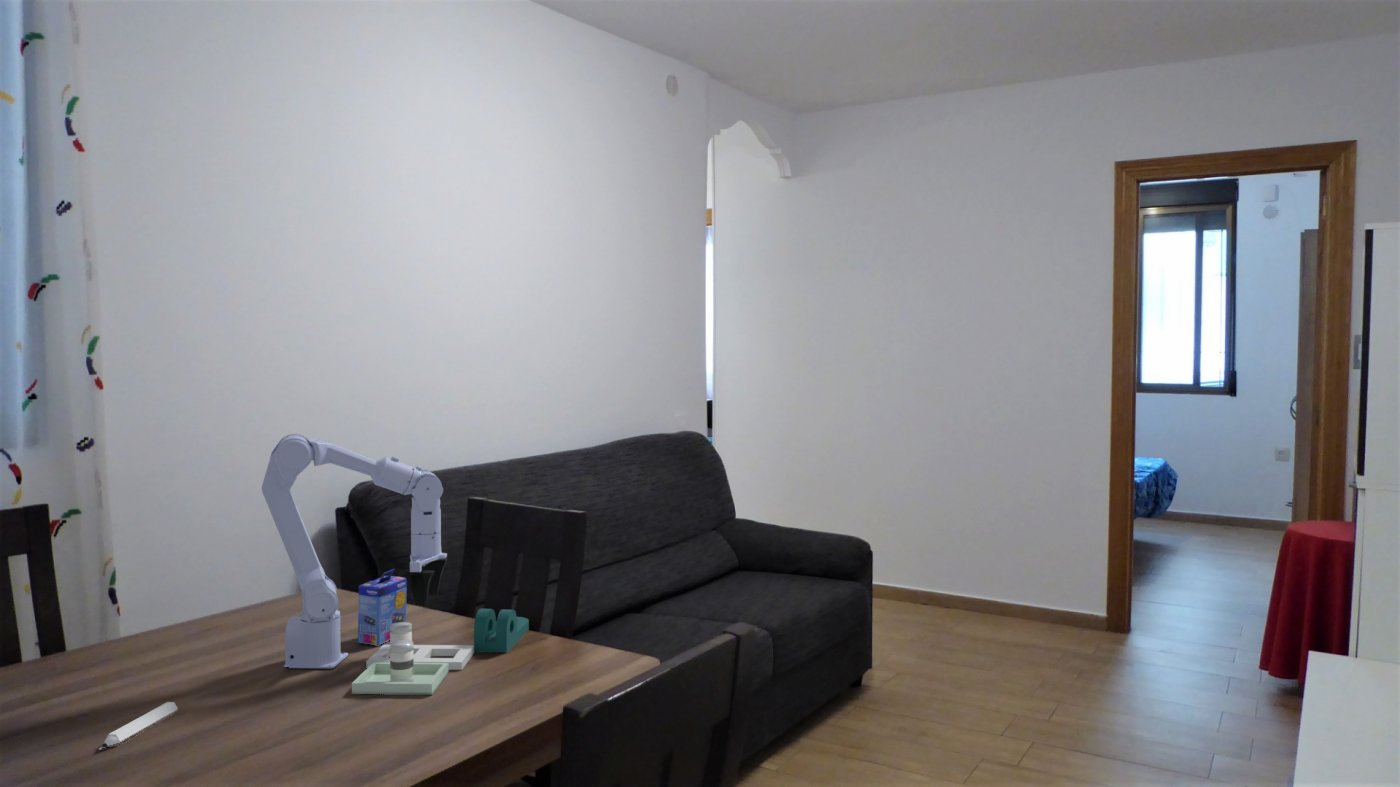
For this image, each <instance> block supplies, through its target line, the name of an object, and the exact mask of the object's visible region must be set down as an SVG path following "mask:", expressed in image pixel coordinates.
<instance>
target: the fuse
mask: <svg viewBox="0 0 1400 787" xmlns="http://www.w3.org/2000/svg"><path fill="white" fill-rule="evenodd" d="M412 626H413V624H412V623H411V622H407V621H406V622H398V623H394V624H391V625H390V641H389V642H390V643H389V645H390V644H391V643H392V642H394V641H398V640H410V641H413V638H412V637H413V634H412V633H413V632H412V631H413V627H412Z"/></svg>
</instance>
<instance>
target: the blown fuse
mask: <svg viewBox="0 0 1400 787" xmlns="http://www.w3.org/2000/svg"><path fill="white" fill-rule="evenodd" d="M389 645H390V682H413V681H414V657H413V645H414V641H413V640H412V641H410V640H398V641H394V642H392V643H391V644H390V643H389Z"/></svg>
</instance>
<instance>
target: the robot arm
mask: <svg viewBox="0 0 1400 787" xmlns="http://www.w3.org/2000/svg"><path fill="white" fill-rule="evenodd" d="M312 461H313V466H314V467H318V466H322V465H327V464H331V465H336V466H339V467H342V468H345V469H349V470H350V471H354V472H357V473H361V474H364V475H367V476H370V477H371V480H372V482H373V484H374V485H375V486H378V487H381V488H384V489H386V490H390V491H393V492H395V493H398V494H401V495H404V496H407V495H411V509H410V544H411V546H410V550H411V551H410V552H411V553H410V555H409V560H410V562H409V568H406V569H404V570H403V576H404V578H406V579H407V584H408V585H409V588H410V590H411V591H410V592H411V595H412V599H413V603H414V606H426V605H427V603H428V599H429V598H428V597H429V596H436V595H437V596H438V593H439V590H440V585H441V580H442V576H443V573H444V569H445V568H446V566H447V563H448V553H446V552H443V551H442V531H441V530H442V519H441V518H442V509H441V499H440V498H441V497H442V495H443V493H444V487H443V485H442V481H441V480H440V478H439V477H437V475H436V474H435V473H433V472H431V471H429V470H428V469H423V467H421V466H419V465H416V466H413V465H409V464H407V463H404V462H401V461H400V458H399V457H397V456H394V455H393V456H391V458H390V457H388V456H385V457H382V458H380V459H377V460H376V459H373V458H371V457H368V456H365V455H363V454H361V453H358V452H355V451H354V450H350V449H348V448H345V447H343V446H340V445H339V444H338V445H337V444H335V443H333V442H330V441H326V440H322V439H319V438H316V437H315V438H314V437H308V438H307V437H306V436H304V435H302V434H299V433H291V434H287V435H285V436H283V437H282V438H281V439H280V440H279V441H278V442H277V444H276V446H275V447H274V448H273V449H272V451H271V454H270V457H269V461H268V465H267V468H266V470H265V471H266V472H265V475H264V478H263V481H262V485H261V492H262V495H263V497H264V499H265V501H266V504H267V505H266V506H267V507H268V509H269V511H270V514H271V516H272V519H273V522H274V524H275V526H276V529H277V531H278V533H279V536H280V538H281V539H280V540H281V541H282V543H283V545H284V548H285V551H286V554H287V556H288V558H289V561H290V563H291V566H292V567H293V569H294V573H295V574H296V575H295V576H296V578H297V582H298V585H299V588H300V590H301V595H302V604H301V605H302V606H301V607H302V610H303V611H301V613H299V614H300V615H299V616H297V615H296V616H291V617H290V618H289V620H288V621H287V624H286V627H285V632H284V633H285V634H284V642H285V643H284V648H285V650H284V651H285V656H284V658H285V664H284V665H283V668H284V667H289V668H288V669H335V667H337V666H338V665H339V664H340V663H341V662H342V661H343V660H345V659H346V658H347V657H348V656H349V653H348V652H342V650H341V645H342V644H341V611H340V610H338V608H339V604H340V603H339V597H338V592H337V591H338V589H337V585H336V584H335V582H334V581H333V580H332V579H330V578H329V577H328V576H327V575H326V573H325V572H326V571H325V570H324V568H323V566H322V565H321V562H320V560H319V558H318V555H317V552H316V550H315V547H314V545H313V543H312V540H311V538H310V535H309V533H308V530H307V528H306V525H305V523H304V521H303V518H302V515H301V513H300V510H299V508H298V506H297V502H296V501H295V498H294V496H293V494H292V491H291V488H292V487H293V486H294V483H295V481H296V480H297V477H298V476H299V475H300V474H301V473H302V472H303V471H304V470H306V469H307V467H308V466H309V465H310V464H311V463H312Z"/></svg>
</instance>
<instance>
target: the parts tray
mask: <svg viewBox="0 0 1400 787" xmlns="http://www.w3.org/2000/svg"><path fill="white" fill-rule="evenodd" d="M448 675H449V670H448V663H414V681H413V682H390V662H373V663H372V664H371V665H370V666H369V667H368V668H367V669H366V668H365V669H364V671H363V672H362V673H360V675H358V677H356V679H354V681H352V682H351V695H352V694H353V693H354V694H355V693H357V694H358V693H359V694H380V696H433V694H434V693H435V692H436V690H437V689H438V688H439V687H440V685H441V684H442V682H444V680H445V679H446V677H447V676H448ZM381 694H382V695H381ZM383 694H384V695H383Z"/></svg>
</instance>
